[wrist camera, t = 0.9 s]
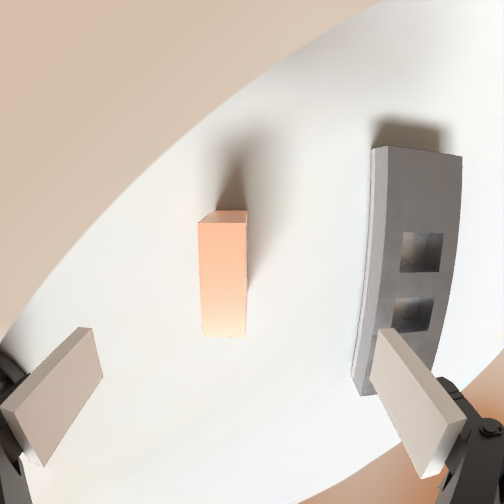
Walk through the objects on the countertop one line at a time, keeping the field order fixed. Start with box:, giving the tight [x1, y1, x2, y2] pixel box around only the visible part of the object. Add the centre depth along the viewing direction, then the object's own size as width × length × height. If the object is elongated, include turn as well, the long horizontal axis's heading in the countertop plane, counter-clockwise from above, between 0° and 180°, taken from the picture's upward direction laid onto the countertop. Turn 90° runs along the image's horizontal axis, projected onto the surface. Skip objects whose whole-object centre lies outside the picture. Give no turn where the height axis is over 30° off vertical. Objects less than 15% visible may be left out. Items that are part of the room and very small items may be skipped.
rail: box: [351, 146, 462, 396], centre depth 28 cm, size 8×24×4 cm, turn 0°
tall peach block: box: [198, 210, 248, 338], centre depth 26 cm, size 3×8×9 cm, turn 0°
